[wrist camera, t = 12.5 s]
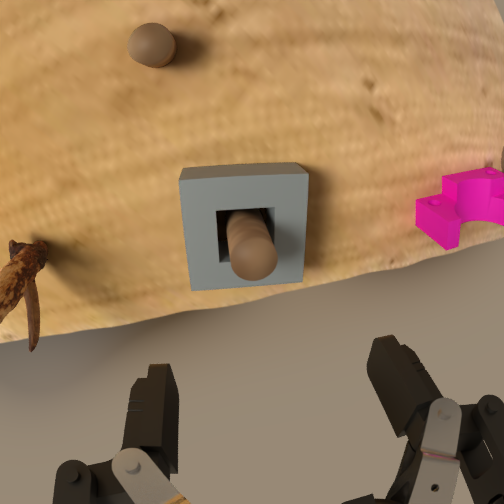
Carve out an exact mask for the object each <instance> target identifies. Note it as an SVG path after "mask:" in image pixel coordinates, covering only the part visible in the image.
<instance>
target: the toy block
mask: <svg viewBox="0 0 504 504" xmlns="http://www.w3.org/2000/svg"><path fill="white" fill-rule="evenodd" d="M475 220H480V221H489V222H494V223H497V224H500V225H503V226H504V173H502V172H500V171H498V170H496V169H494V168H491V167H487V168H482V169H476V170H471V171H466V172H461V173H456V174H451V175H446V176H442V194H438V195H434V196H429V197H425V198H421V199H417V200H416V226H417V227H418V228H420V229H421V230H422V231H423V232H425V233H426V234H427V235H428V236H429V237H431V238H432V239H433V240H434V241H436V242H437V243H438V244H439V245H440V246H442V247H443V248H444V249H445V250H449V249H452V248H455V247H458V245H459V236H460V225H461V223H464V222H468V221H475Z"/></svg>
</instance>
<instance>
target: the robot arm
mask: <svg viewBox="0 0 504 504" xmlns="http://www.w3.org/2000/svg"><path fill="white" fill-rule="evenodd" d="M501 168H502V173H504V147H503V151H502V157H501ZM367 373H368V377H369V379H370V381H371V383H372V385H373V387H374V389H375V391H376V393H377V395H378V397H379V400H380V402H381V404H382V406H383V408H384V410H385V412H386V414H387V416H388V419H389V421H390V423H391V425H392V427H393V429H394V432H395V434H396V436H397V437H398V438H399V437H401V436H405V435H407V437H408V439H409V440H408V441H407V444H406V447H405V451H404V454H403V457H402V460H401V464H400V467H399V470H398V473H397V475H396V478H395V481H394V483H393V484H392V486H391V488H390V490H389V491H388V493H387V496H386V498H385V499H374V496H373V494H370V495H367V496H363V497H360V498H357V499H353V500H350V501H346V502H344V503H342V504H451V502H452V499H453V495H454V490H455V486H456V482H457V477H458V472H459V467H460V469H461V472H462V474H463V476H464V479H465V481H466V483H467V486H468V488H469V491H470V494H471V496H472V499H473V501H474V504H504V403H503V402H502V401H501V399H500V398H498V397H497V396H494V395H485V396H483V397H482V398H481V399H480V400H479V402H478V403H477V404H469V405H458V404H457V403H456V402H455V401H454V400H452V399H449V398H444V397H443V396H442V395H441V393H440V391H439V390H438V388H437V386H436V385H435V383H434V382H433V380H432V378H431V377H430V375H429V374H428V372H427V370H425V367H424V366H423V364H422V363H420V360H419V358H418V356H417V355H416V353H415V352H414V351H413V350H412V349H410V348H409V347H408V346H406V345H405V344H404V345H400V344H399V342H398V341H397V339H396V338H395V336H394V335H387V336H383V337H378V338H375V339H374V341H373V344H372V348H371V351H370V355H369V358H368V361H367ZM178 422H179V393H178V388H177V385H176V382H175V379H174V376H173V372H172V369H171V366H170V364H150V366H149V369H148V376H147V378H138V379H137V381H136V382H135V384H134V385H133V386H132V388H131V392H130V398H129V404H128V412H127V417H126V423H125V430H124V437H123V444H122V448H121V450H120V452H119V453H118V454H116V455H115V457H114V458H113V459H111V460H109V461H106V462H102V463H97V464H93V465H88V466H87V465H86V464H84V463H83V462H81V461H78V460H69V461H66V462H64V463H63V464H61V466H60V467H59V468H58V470H57V473H56V479H55V487H54V497H53V504H191V503H190V502H189V501H188V500H187V499H186V498H185V497H183V496H182V495H181V494H180V492H179V491H178V490H177V489H176V488H175V487H174V486H173V485H172V484H171V483H170V474H171V473H172V474H178V424H179V423H178ZM483 440H484V441H485V443H486V445H487V447H488V449H489V451H490V453H491V455H492V457H493V459H492V457H491V456H490V453H489V451H488V449H487V447H486V445H485V443H484V441H483Z"/></svg>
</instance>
